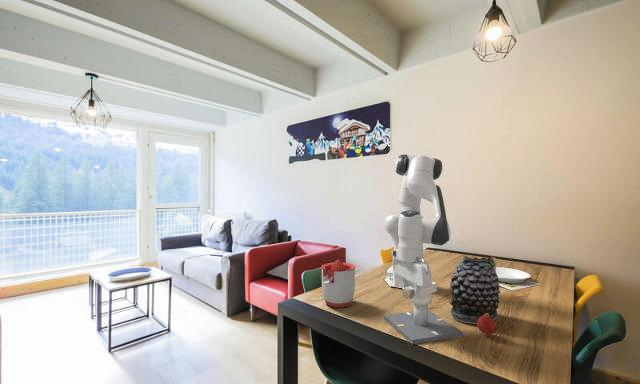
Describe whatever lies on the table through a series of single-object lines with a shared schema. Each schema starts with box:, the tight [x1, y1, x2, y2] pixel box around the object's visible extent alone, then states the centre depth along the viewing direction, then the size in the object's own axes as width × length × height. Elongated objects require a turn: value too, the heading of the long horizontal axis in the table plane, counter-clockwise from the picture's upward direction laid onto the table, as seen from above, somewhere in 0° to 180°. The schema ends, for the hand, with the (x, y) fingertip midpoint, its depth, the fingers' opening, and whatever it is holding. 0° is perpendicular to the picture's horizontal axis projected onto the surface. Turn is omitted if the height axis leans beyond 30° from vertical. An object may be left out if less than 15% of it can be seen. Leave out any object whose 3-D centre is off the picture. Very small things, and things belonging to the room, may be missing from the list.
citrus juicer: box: [320, 259, 356, 308], centre depth 130 cm, size 16×17×20 cm
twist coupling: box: [402, 281, 438, 306], centre depth 107 cm, size 15×8×6 cm, turn 121°
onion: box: [476, 313, 498, 337], centre depth 100 cm, size 6×6×8 cm
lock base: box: [383, 303, 464, 345], centre depth 107 cm, size 20×20×10 cm
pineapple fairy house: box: [448, 255, 501, 325], centre depth 114 cm, size 21×15×25 cm
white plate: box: [496, 266, 531, 284], centre depth 166 cm, size 25×25×4 cm
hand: (411, 292), depth 106 cm, fingers open, 5 cm apart
